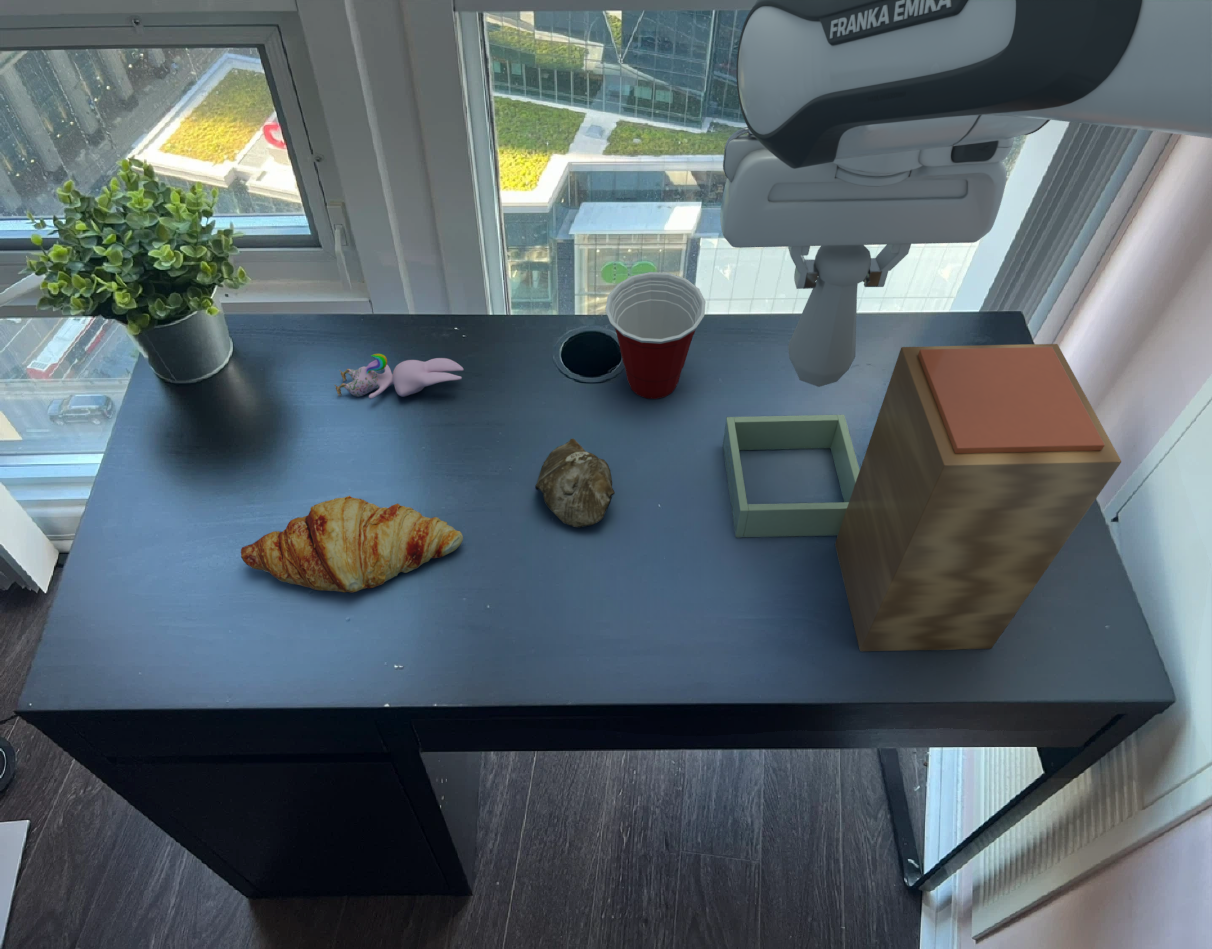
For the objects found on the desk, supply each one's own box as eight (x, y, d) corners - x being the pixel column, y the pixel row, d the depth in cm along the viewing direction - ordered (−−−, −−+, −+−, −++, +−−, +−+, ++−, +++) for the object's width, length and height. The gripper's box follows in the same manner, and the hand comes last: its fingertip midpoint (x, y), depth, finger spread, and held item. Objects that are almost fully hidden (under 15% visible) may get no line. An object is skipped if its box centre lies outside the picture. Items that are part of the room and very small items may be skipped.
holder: (836, 442, 93) (844, 414, 89) (860, 535, 85) (870, 507, 81) (722, 445, 93) (726, 416, 89) (735, 537, 85) (740, 510, 81)
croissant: (468, 543, 89) (459, 473, 86) (466, 590, 80) (455, 513, 77) (262, 566, 87) (245, 495, 84) (234, 616, 77) (214, 539, 74)
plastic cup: (594, 404, 97) (591, 323, 88) (622, 345, 104) (622, 264, 95) (684, 425, 95) (691, 344, 86) (708, 363, 101) (716, 282, 92)
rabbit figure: (340, 415, 98) (463, 403, 96) (318, 378, 94) (446, 364, 92) (353, 378, 102) (470, 365, 100) (332, 341, 98) (455, 327, 96)
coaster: (1049, 352, 64) (1052, 346, 63) (1101, 450, 57) (1105, 445, 57) (917, 354, 64) (919, 349, 63) (954, 453, 57) (957, 447, 57)
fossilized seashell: (632, 510, 84) (608, 450, 92) (595, 474, 80) (573, 414, 87) (572, 550, 86) (554, 488, 93) (533, 517, 81) (517, 454, 89)
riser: (954, 541, 84) (1057, 343, 64) (991, 649, 76) (1122, 461, 57) (834, 543, 84) (901, 346, 64) (859, 651, 76) (944, 465, 57)
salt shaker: (835, 402, 73) (869, 278, 63) (774, 379, 75) (797, 257, 65) (858, 362, 76) (893, 239, 67) (799, 342, 78) (824, 219, 69)
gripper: (732, 145, 56) (714, 310, 66) (1039, 138, 56) (973, 305, 66) (722, 100, 60) (707, 263, 71) (1008, 94, 60) (950, 258, 71)
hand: (838, 283), depth 68 cm, fingers closed on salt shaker, 4 cm apart
